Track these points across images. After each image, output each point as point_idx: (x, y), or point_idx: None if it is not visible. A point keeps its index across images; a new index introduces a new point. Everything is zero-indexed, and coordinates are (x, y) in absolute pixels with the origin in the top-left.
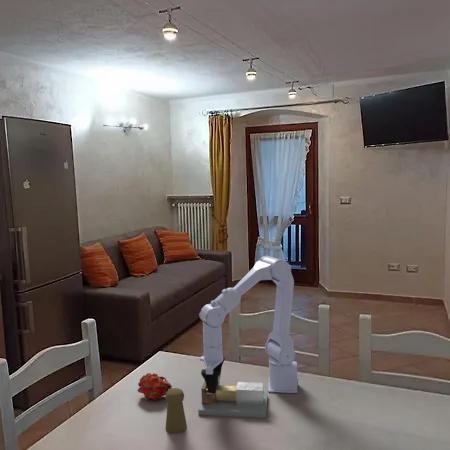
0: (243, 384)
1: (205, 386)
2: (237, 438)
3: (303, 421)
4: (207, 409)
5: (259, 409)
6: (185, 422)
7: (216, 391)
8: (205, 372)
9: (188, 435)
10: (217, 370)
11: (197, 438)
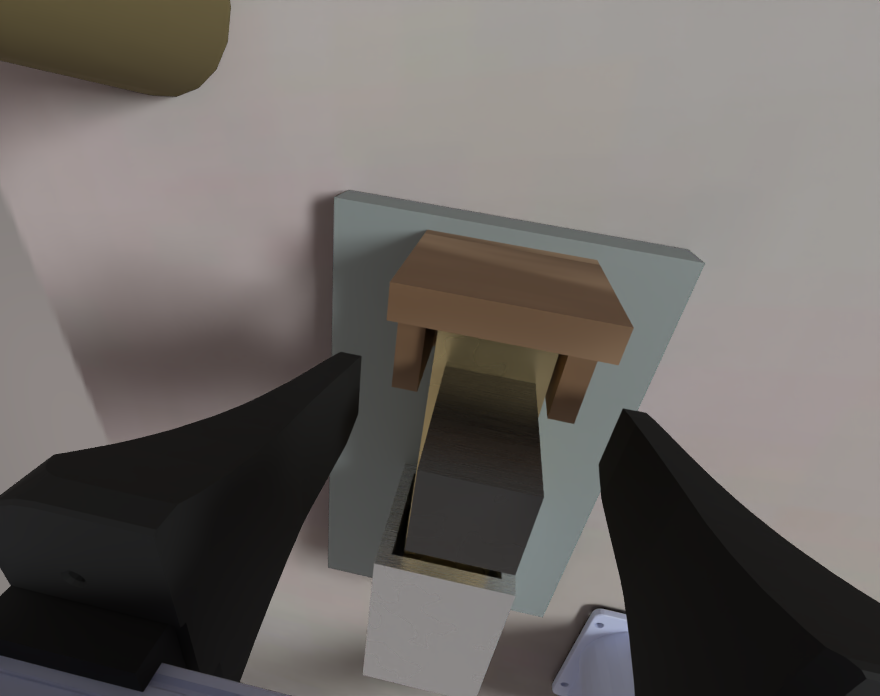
0: (462, 617)
1: (450, 330)
2: (145, 411)
3: (324, 637)
4: (344, 277)
5: (362, 553)
6: (111, 85)
7: (427, 408)
8: (24, 569)
9: (75, 122)
10: (642, 565)
11: (68, 194)
